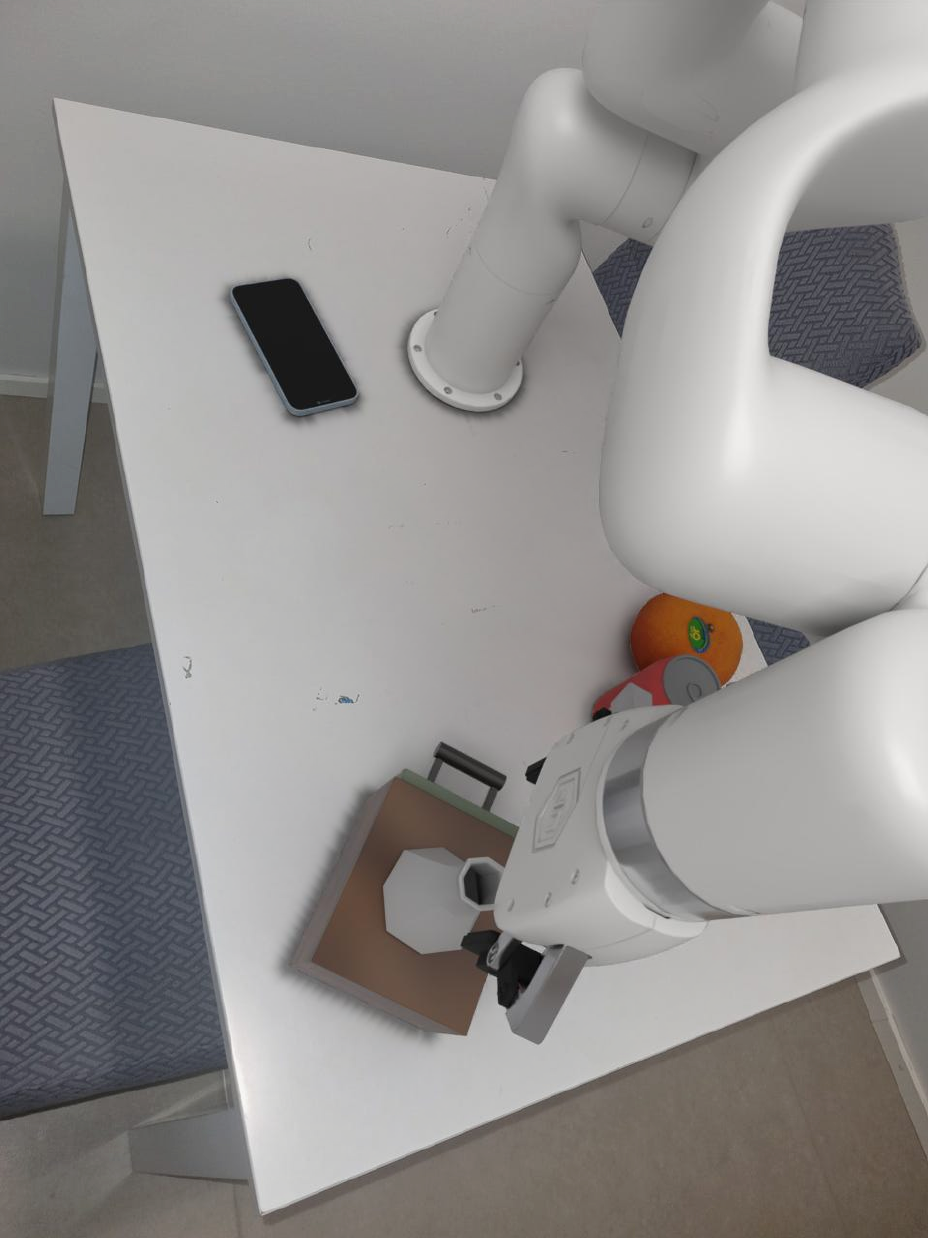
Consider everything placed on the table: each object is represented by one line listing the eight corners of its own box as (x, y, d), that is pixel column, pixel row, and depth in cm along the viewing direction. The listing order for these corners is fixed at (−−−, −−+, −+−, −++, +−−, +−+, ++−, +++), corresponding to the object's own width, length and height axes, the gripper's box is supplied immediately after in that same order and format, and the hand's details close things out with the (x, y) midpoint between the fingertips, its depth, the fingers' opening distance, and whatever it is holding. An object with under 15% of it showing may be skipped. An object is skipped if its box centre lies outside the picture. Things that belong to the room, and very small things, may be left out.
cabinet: (365, 799, 70) (395, 775, 62) (489, 862, 71) (532, 847, 64) (287, 966, 63) (310, 961, 56) (426, 1032, 65) (466, 1036, 57)
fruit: (685, 601, 89) (732, 568, 82) (723, 695, 86) (775, 669, 79) (599, 617, 85) (642, 584, 78) (637, 718, 82) (685, 692, 75)
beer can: (610, 771, 79) (685, 737, 68) (576, 706, 80) (645, 663, 70) (662, 744, 82) (741, 707, 71) (629, 682, 83) (702, 637, 73)
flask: (469, 966, 59) (529, 961, 50) (369, 942, 57) (413, 932, 49) (488, 860, 62) (547, 839, 54) (393, 834, 61) (439, 807, 52)
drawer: (402, 741, 72) (428, 718, 66) (510, 797, 73) (544, 780, 67) (311, 938, 64) (331, 932, 58) (435, 998, 65) (466, 997, 59)
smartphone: (296, 275, 87) (362, 397, 83) (295, 282, 87) (360, 402, 84) (226, 286, 83) (292, 413, 80) (225, 292, 84) (290, 419, 81)
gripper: (678, 580, 36) (514, 697, 50) (541, 1007, 27) (393, 997, 42) (825, 667, 37) (622, 757, 51) (736, 1103, 28) (524, 1060, 43)
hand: (519, 865), depth 47 cm, fingers open, 9 cm apart
